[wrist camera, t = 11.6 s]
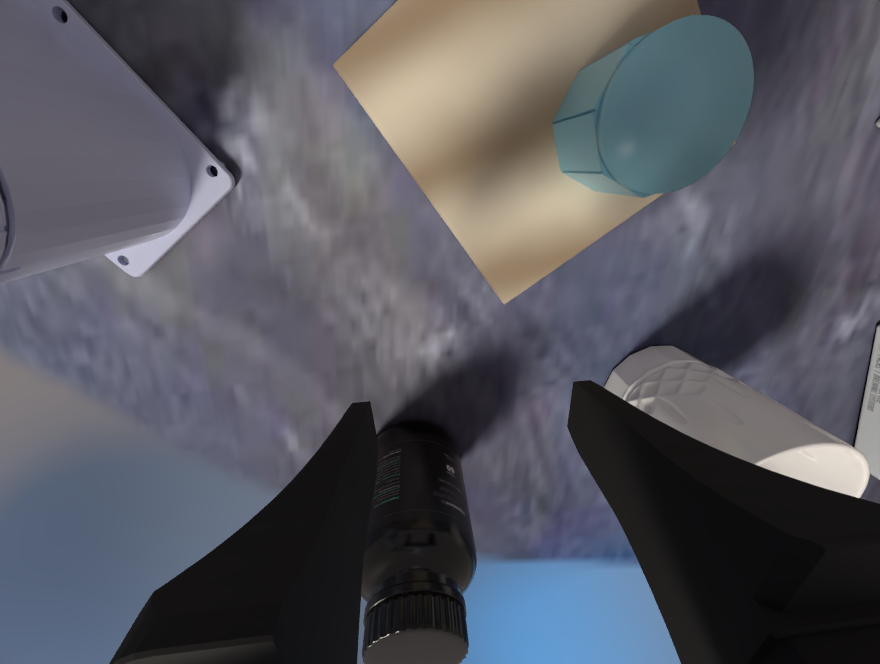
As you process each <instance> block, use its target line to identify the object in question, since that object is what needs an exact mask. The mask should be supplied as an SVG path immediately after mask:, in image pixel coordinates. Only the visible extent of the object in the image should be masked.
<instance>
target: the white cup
mask: <svg viewBox="0 0 880 664" xmlns="http://www.w3.org/2000/svg"><path fill="white" fill-rule="evenodd" d="M604 388H605V389H607V390H608V391H610V392H612V393H613V394H615V395H617V396H618V397H620V398H622V399H623V400H625V401H627V402H628V403H630V404H632V405H633V406H635V407H637V408H638V409H640V410H642V411H643V412H645V413H647V414H649V415H650V416H652V417H654V418H656V419H657V420H659V421H661V422H663V423H665V424H667V425H669V426H671V427H672V428H674V429H676V430H678V431H680V432H682V433H684V434H686V435H688V436H690V437H692V438H694V439H696V440H698V441H701V442H703V443H705V444H707V445H709V446H712V447H714V448H716V449H718V450H720V451H723V452H725V453H728V454H730V455H732V456H735V457H737V458H740V459H742V460H745V461H747V462H750V463H753V464H755V465H758V466H760V467H763V468H766V469H768V470H771V471H774V472H777V473H780V474H782V475H785V476H788V477H791V478H794V479H797V480H800V481H803V482H806V483H809V484H812V485H815V486H819V487H822V488H825V489H829V490H832V491H836V492H839V493H843V494H846V495H850V496H853V497H857V498H860V497H861V495H862V494H863V492H864V490H865V488H866V486H867V484H868V481H869V477H870V466H869V462H868V460H867V458H866V457H865V455H864V454H863V453H862V452H861V451H859V450H858V449H856V448H854V447H853V446H851V445H849V444H848V443H846V442H844V441H842V440H841V439H839V438H837V437H835V436H834V435H832V434H830V433H829V432H827V431H825V430H823V429H822V428H820V427H818V426H817V425H815V424H813V423H812V422H810V421H808V420H806V419H805V418H803V417H801V416H800V415H798V414H796V413H795V412H793V411H791V410H790V409H788V408H786V407H784V406H783V405H781V404H779V403H778V402H776V401H774V400H773V399H771V398H769V397H768V396H766V395H764V394H763V393H761V392H759V391H757V390H755V389H752V388H751V387H749V386H747V385H746V384H744V383H743V382H741V381H739V380H737V379H736V378H734V377H732V376H729V375H728V374H726V373H724V372H723V371H721V370H720V369H718V368H716V367H714V366H710V365H707V364H705V363H704V362H702V361H700V360H699V359H697V358H696V357H694V356H692V355H691V354H689V353H687V352H685V351H683V350H681V349H678V348H676V347H674V346H650V347H648V348H646V349H643V350H641V351H638V352H636V353H634V354H631V355H629V356H628V357H627V358H626V359H625V360H624V361H623V362H621V363H620V364H619V365H618V366H617V367H616V368H615V369H614V370H613V371H612V373H611V375H610V377H609V379H608V381H607V383H606V385H605V386H604Z"/></svg>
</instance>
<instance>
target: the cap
mask: <svg viewBox="0 0 880 664" xmlns="http://www.w3.org/2000/svg"><path fill="white" fill-rule="evenodd" d="M753 88H754V68H753V60H752V56H751V53H750V50H749V47H748V45H747V43H746V41H745V39H744V38H743V36H742V35H741V33H740V32H739V31H738V30H737V29H736V28H735V27H734V26H733V25H731V24H730V23H729V22H727V21H726V20H723V19H721V18H718V17H715V16H710V15H691V16H687V17H683V18H681V19H678V20H675V21H673V22H671V23H669V24H667V25H665V26H663V27H661V28H659V29H657V30H655V31H653V32H650V33H648V34H645V35H643V36H641V37H638V38H636V39H633V40H631V41H630V42H628V43H626V44H624V45H623V46H621V47H619V48H617V49H616V50H614V51H612V52H611V53H609V54H607V55H605V56H604V57H602V58H600V59H598V60H597V61H595V62H593V63H591V64H590V65H588V66H586V67H584V68H583V69H581V70H580V71H579V72H578V73H577V75H576V77H575V79H574V81H573V82H572V84H571V86H570V88H569V90H568V92H567V94H566V96H565V98H564V100H563V102H562V104H561V106H560V108H559V110H558V112H557V114H556V116H555V118H554V120H553V122H554V123H555V124H552V127H553V133H554V138H555V144H556V150H557V155H558V161H559V166H560V171H562V173H563V174H565V175H567V176H568V177H570V178H572V179H574V180H575V181H577V182H579V183H581V184H582V185H584V186H586V187H588V188H589V189H591V190H593V191H595V192H602V193H610V194H618V195H625V196H633V197H640V198H646V197H648V196H651V195H653V194H659V193H668V192H673V191H676V190H679V189H682V188H684V187H686V186H689V185H690V184H692V183H694V182H696V181H697V180H699V179H700V178H702V177H703V176H704V175H706V174H707V173H708V172H709V171H710V170H711V169H713V168H714V167H715V166H716V165H717V164H718V163H719V162H720V160H721V159H722V158H723V157H724V156H725V155H726V153H727V152H728V151H729V149H730V148H731V146H732V145H733V143H734V142H735V140H736V139H737V137H738V135H739V133H740V131H741V129H742V127H743V125H744V122H745V120H746V118H747V115H748V111H749V108H750V105H751V100H752V96H753Z"/></svg>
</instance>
